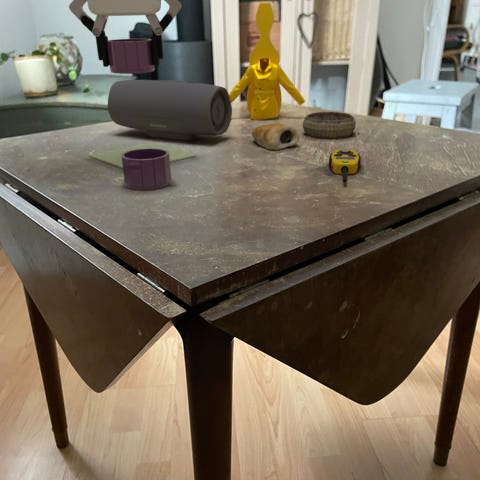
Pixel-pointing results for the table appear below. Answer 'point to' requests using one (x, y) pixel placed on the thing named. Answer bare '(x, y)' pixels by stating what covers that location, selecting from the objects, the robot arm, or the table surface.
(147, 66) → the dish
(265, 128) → the pastry
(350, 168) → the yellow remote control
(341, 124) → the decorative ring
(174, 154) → the placemat
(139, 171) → the ribbed purple cap
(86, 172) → the table surface
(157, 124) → the bluetooth speaker
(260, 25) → the yellow coat
